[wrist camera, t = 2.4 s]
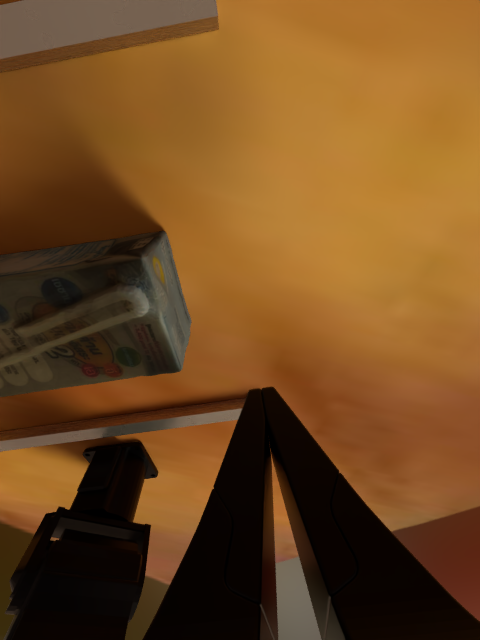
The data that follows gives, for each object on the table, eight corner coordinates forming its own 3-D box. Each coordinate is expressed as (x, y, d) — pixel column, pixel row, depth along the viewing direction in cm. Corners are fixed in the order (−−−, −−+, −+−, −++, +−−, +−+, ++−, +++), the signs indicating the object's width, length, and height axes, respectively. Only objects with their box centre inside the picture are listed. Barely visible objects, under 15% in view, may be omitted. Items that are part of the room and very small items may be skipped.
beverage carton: (196, 327, 21) (184, 386, 15) (-25, 357, 21) (-117, 425, 16) (169, 226, 17) (138, 254, 11) (-103, 268, 17) (-265, 316, 12)
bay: (268, 405, 25) (273, 431, 23) (-23, 444, 27) (-50, 474, 24) (212, -19, 11) (207, -77, 9) (-408, 107, 12) (-575, 90, 10)
